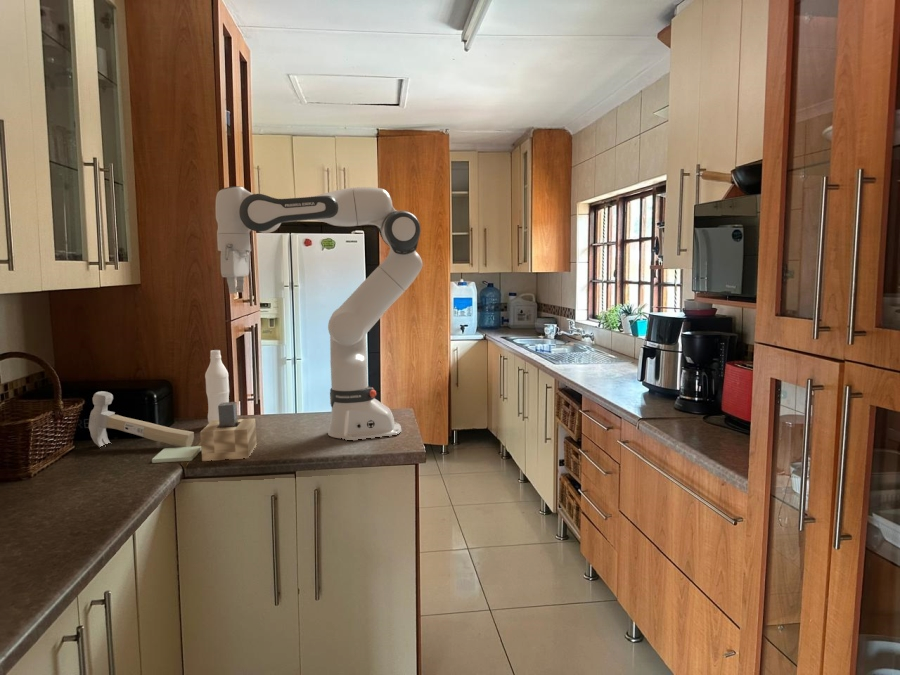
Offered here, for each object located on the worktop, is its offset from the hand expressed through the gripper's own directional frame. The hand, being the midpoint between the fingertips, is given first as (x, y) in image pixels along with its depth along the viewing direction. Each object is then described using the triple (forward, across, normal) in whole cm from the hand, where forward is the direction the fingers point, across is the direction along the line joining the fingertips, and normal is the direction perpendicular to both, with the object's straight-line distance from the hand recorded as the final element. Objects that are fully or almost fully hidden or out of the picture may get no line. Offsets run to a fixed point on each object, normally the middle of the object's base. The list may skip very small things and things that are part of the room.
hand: (236, 292), depth 172 cm
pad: (+44, -12, +16) cm, 48 cm away
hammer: (+44, -1, +29) cm, 53 cm away
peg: (+42, -12, +2) cm, 44 cm away
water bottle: (+44, +19, +12) cm, 50 cm away
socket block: (+44, -12, +2) cm, 46 cm away
